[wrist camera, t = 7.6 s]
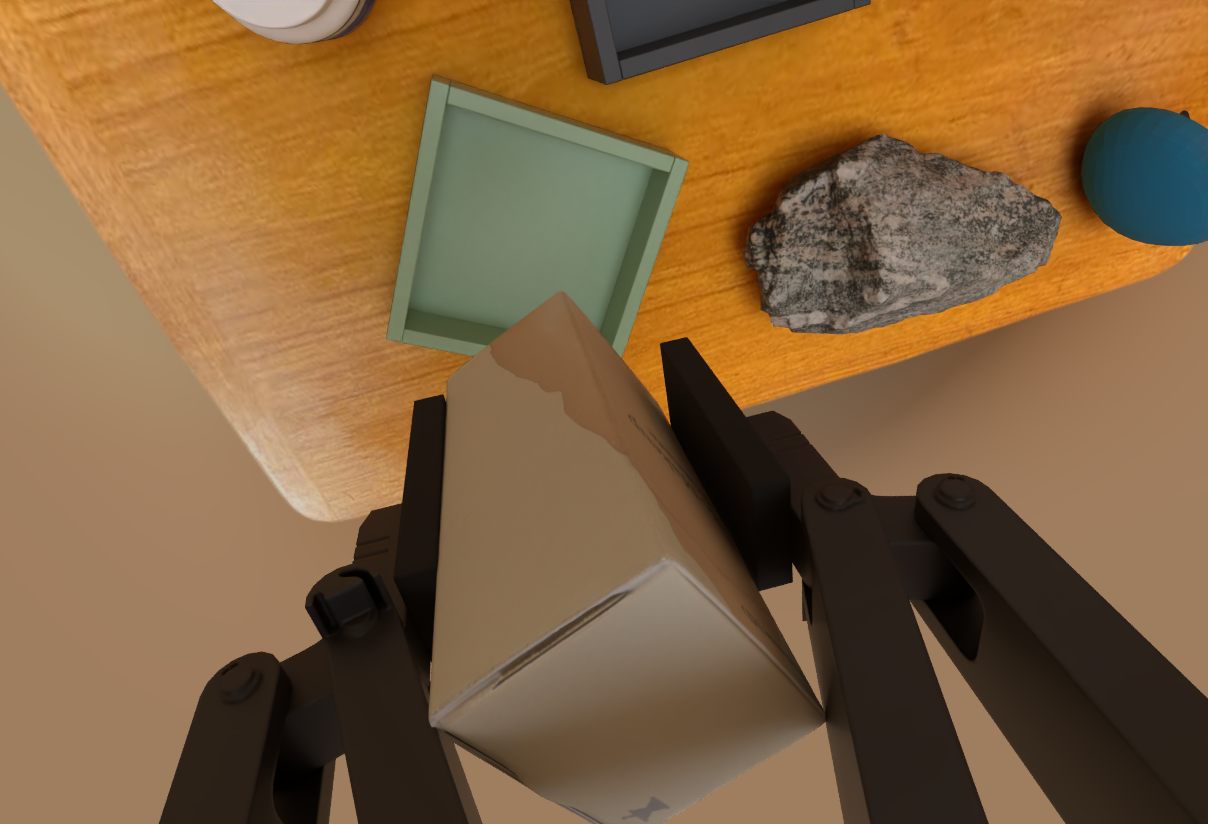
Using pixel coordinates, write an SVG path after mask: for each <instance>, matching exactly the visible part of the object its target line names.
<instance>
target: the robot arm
mask: <svg viewBox="0 0 1208 824" xmlns="http://www.w3.org/2000/svg"><path fill="white" fill-rule="evenodd" d="M660 348H661V356H662V363H663V371H664V378H665V386H666V393H667V401H668V408H669V416H670V423H671V428H672V430H673V432H674V434H675V436H676V437H677V439H678V441H679V443H680V445H681V447H682V449H683V451H684V453H685V455H686V456H687V458H688V460H689V462H690V464H691V466H692V467H693V469H694V471H695V473H696V475H697V477H698V478H699V480H700V482H701V484H702V486H703V488H704V490H705V491H706V493H707V495H708V497H709V499H710V501H711V503H712V504H713V506H714V508H715V510H716V512H717V514H718V516H719V518H720V520H721V522H722V523H723V525H724V527H725V529H726V531H727V533H728V535H729V537H730V538H731V540H732V542H733V544H734V546H735V548H736V550H737V551H738V553H739V555H740V557H741V559H742V561H743V563H744V565H745V566H746V568H747V570H748V572H749V574H750V576H751V578H752V580H753V581H754V583H755V585H756V587H757V589H758V591H762V590H765V589H769V588H773V587H777V586H780V585H784V584H788V583H792V582H793V577H792V575H793V574H792V563H793V564H794V566H795V568H796V569H797V571H798V572H799V574H800V576H801V577H802V614H803V621H807V623H808V629H809V634H810V639H811V645H812V651H813V656H814V662H815V667H816V672H817V678H818V683H819V688H820V694H821V700H822V705H823V710H824V712H825V714H826V721H825V722H826V726H827V732H828V738H829V743H830V748H831V754H832V759H833V765H834V771H835V775H836V781H837V786H838V792H839V798H840V803H841V808H842V814H843V819H844V824H989V823H988V820H987V818H986V815H985V812H984V809H983V806H982V804H981V801H980V798H979V795H978V792H977V789H976V787H975V784H974V781H973V778H972V776H971V773H970V770H969V767H968V764H967V762H966V759H965V756H964V753H963V750H962V747H961V744H960V742H959V739H958V736H957V733H956V730H955V728H954V725H953V722H952V719H951V716H950V714H949V711H948V708H947V705H946V702H945V700H944V697H943V694H942V691H941V688H940V685H939V683H938V680H937V677H936V674H935V671H934V669H933V666H932V663H931V660H930V657H929V655H928V652H927V649H926V646H925V643H924V640H923V638H922V635H921V632H920V629H919V626H918V624H917V621H916V618H915V615H914V612H913V610H912V607H911V604H910V601H911V603H912V604H913V606H914V607H915V608H916V610H917V611H918V613H919V614H920V616H921V617H922V619H923V620H924V621H925V623H926V624H927V626H928V627H929V629H930V630H931V631H932V633H933V634H934V636H935V637H936V638H937V640H938V642H939V643H940V644H941V646H942V647H943V649H944V650H945V652H946V653H947V654H948V656H949V657H950V659H951V660H952V662H953V663H954V664H955V666H956V667H957V669H958V670H959V671H960V673H961V674H962V676H963V677H964V679H965V680H966V682H967V683H968V685H969V686H970V687H971V689H972V690H973V692H974V693H975V695H976V696H977V697H978V699H979V700H980V702H981V703H982V704H983V706H984V707H985V709H986V710H987V712H988V713H989V715H990V716H991V717H992V719H993V720H994V722H995V723H996V725H997V726H998V727H999V729H1000V730H1001V732H1002V733H1003V735H1004V736H1005V737H1006V739H1007V740H1008V742H1009V743H1010V745H1011V746H1012V747H1013V749H1014V750H1015V752H1016V753H1017V754H1018V756H1019V758H1020V759H1021V760H1022V762H1023V763H1024V765H1025V766H1026V767H1027V769H1028V770H1029V772H1030V773H1031V775H1032V776H1033V778H1034V779H1035V780H1036V782H1037V783H1038V785H1039V786H1040V788H1041V789H1042V790H1043V792H1044V793H1045V795H1046V796H1047V798H1048V799H1049V800H1050V802H1051V803H1052V805H1053V806H1054V808H1055V809H1056V810H1057V812H1058V813H1059V815H1060V816H1061V818H1062V819H1063V821H1064V822H1065V823H1066V824H1208V698H1207V697H1206V696H1205V695H1203V693H1201V692H1200V691H1199V690H1198V689H1197V688H1196V687H1195V686H1194V685H1193V684H1192V683H1191V682H1190V681H1189V680H1188V679H1187V678H1186V677H1185V676H1184V675H1183V674H1182V673H1181V672H1180V671H1179V670H1178V669H1176V667H1175V666H1174V665H1172V664H1171V663H1170V662H1169V661H1168V660H1167V659H1166V658H1165V657H1164V656H1163V655H1162V654H1161V653H1160V652H1159V651H1158V650H1157V649H1156V648H1155V647H1154V646H1153V645H1152V644H1151V643H1150V642H1149V641H1148V640H1147V639H1146V638H1144V637H1143V636H1142V635H1141V634H1140V633H1139V632H1138V631H1137V630H1136V629H1135V628H1134V627H1133V626H1132V625H1131V624H1130V623H1129V622H1128V621H1127V620H1126V619H1125V618H1124V617H1123V616H1122V615H1121V614H1120V613H1119V612H1118V611H1116V610H1115V609H1114V608H1113V607H1112V606H1111V605H1110V604H1109V603H1108V602H1107V601H1106V600H1105V599H1104V598H1103V597H1102V596H1101V595H1100V594H1099V593H1098V592H1097V591H1096V590H1095V589H1094V588H1093V587H1092V586H1091V585H1089V584H1088V582H1086V581H1085V580H1084V579H1083V578H1082V577H1081V576H1080V575H1079V574H1078V573H1077V572H1076V571H1075V570H1074V569H1073V568H1072V567H1071V566H1070V565H1069V564H1068V563H1066V561H1065V560H1064V559H1063V558H1062V557H1061V556H1059V555H1058V554H1057V553H1056V552H1055V551H1054V550H1053V549H1052V548H1051V547H1050V546H1049V545H1048V544H1047V543H1046V542H1045V541H1044V540H1043V539H1042V538H1041V537H1040V536H1039V535H1038V534H1037V533H1036V532H1035V531H1034V530H1033V529H1031V527H1029V526H1028V525H1027V524H1026V523H1025V522H1024V521H1023V520H1022V519H1021V518H1020V517H1019V516H1018V515H1017V514H1016V513H1015V512H1014V511H1013V510H1012V509H1011V508H1010V507H1009V506H1008V505H1007V504H1006V503H1005V502H1004V501H1003V500H1001V499H1000V498H999V497H998V496H997V495H996V494H995V493H994V492H993V491H992V490H991V489H990V488H989V487H988V486H986V485H984V484H983V483H982V482H980V481H979V480H976V479H973V478H971V477H968V476H965V475H959V474H951V473H947V474H935V475H933V476H930V477H928V478H925V479H923V480H922V482H920V484H918V486H917V492H916V496H875V495H871V494H870V492H869V491H868V489H867V488H865V487H864V486H862V485H861V484H859V483H858V482H855V481H852V480H849V479H845V478H839V477H838V475H837V474H836V473H835V472H834V471H833V469H832V468H831V467H830V466H829V465H828V463H827V462H826V461H825V460H824V459H823V458H822V457H821V455H820V454H819V453H818V452H817V450H816V449H815V448H814V447H813V446H812V445H810V444H809V441H808V440H807V439H806V437H805V436H804V435H803V434H801V431H800V430H799V429H798V428H797V427H796V426H795V424H794V423H793V422H792V421H791V420H790V419H788V418H786V417H784V416H782V415H781V414H779V413H776V412H775V411H769V412H765V413H761V414H757V415H754V416H749V417H746V416H745V415H744V414H743V412H742V411H741V410H740V408H739V407H738V406H737V404H736V403H735V401H734V400H733V399H732V397H731V396H730V395H729V393H728V392H727V391H726V389H725V388H724V387H723V385H722V384H721V382H720V381H719V380H718V378H717V377H716V376H715V374H714V373H713V372H712V370H711V369H710V367H709V366H708V365H707V363H706V362H705V361H704V359H703V358H702V357H701V355H700V354H699V353H698V351H697V350H696V348H695V347H694V346H693V344H692V343H691V342H690V340H689V339H688V338H687V337H685V338H681V339H676V340H672V341H668V342H664V343H660ZM445 419H446V401H445V398H444V395H443V394H442V395H438V396H434V397H429V398H425V399H421V400H416V401H414V408H413V417H412V425H411V433H410V442H409V450H408V459H407V467H406V475H405V484H404V492H403V500H402V503H401V504H397V505H393V506H389V507H385V508H381V509H377V510H373V511H371V512H370V514H369V515H368V517H367V518H366V519H365V521H364V522H363V524H362V525H361V526H360V528H359V533H358V538H357V543H356V545H357V547H356V548H355V553H354V561H353V563H352V564H350V565H347V566H344V567H341V568H338V569H336V570H334V571H333V572H331V573H329V574H327V575H325V576H324V577H323V578H322V579H321V580H320V581H318V582H317V583H316V584H315V585H314V586H313V588H312V589H311V591H310V592H309V594H308V596H307V597H306V604H305V608H306V610H307V612H308V614H309V615H310V617H311V619H312V620H313V622H314V624H315V626H316V627H317V629H318V631H319V633H320V635H321V636H322V639H321V640H320V641H319V642H317V643H316V644H314V645H312V646H311V647H309V648H307V649H306V650H304V651H302V652H300V653H298V654H296V655H294V656H292V657H290V658H288V659H286V660H284V661H282V662H279V661H278V660H277V659H276V658H275V656H274V655H273V654H270V653H265V652H257V653H250V654H247V655H244V656H242V657H240V658H237V659H235V660H233V661H231V662H230V663H229V664H227V665H226V666H225V667H223V668H222V669H220V670H219V671H218V672H217V673H216V674H215V675H214V677H212V678H211V680H210V681H209V682H208V683H207V685H206V686H205V688H204V690H203V692H202V694H201V696H200V699H199V702H198V705H197V708H196V711H195V714H194V717H193V720H192V724H191V726H190V730H189V733H188V736H187V739H186V742H185V745H184V748H183V751H182V754H181V757H180V760H179V763H178V767H177V769H176V773H175V776H174V779H173V782H172V785H171V788H170V791H169V794H168V797H167V801H166V803H165V806H164V809H163V813H162V816H161V819H160V822H159V824H329V816H330V807H331V798H332V789H333V780H334V771H335V761H336V758H338V757H339V756H341V755H343V754H345V756H346V762H347V767H348V772H349V777H350V783H351V788H352V793H353V798H354V803H355V808H356V814H357V819H358V824H482V821H481V818H480V815H479V813H478V810H477V807H476V804H475V802H474V799H473V796H472V793H471V790H470V787H469V785H468V782H467V779H466V776H465V773H464V771H463V768H462V765H461V762H460V759H459V757H458V754H457V751H456V749H455V745H454V743H453V742H452V741H450V740H448V739H446V738H444V737H443V736H441V735H439V733H438V731H437V728H436V727H431V725H430V722H429V700H430V685H431V682H430V662H432V653H433V635H434V617H435V601H436V582H437V567H438V549H439V531H440V513H441V493H442V478H443V458H444V440H445ZM909 600H910V601H909Z"/></svg>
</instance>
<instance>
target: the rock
mask: <svg viewBox="0 0 1208 824" xmlns="http://www.w3.org/2000/svg"><path fill="white" fill-rule="evenodd" d="M1061 218H1062V217H1061V215H1060V213H1059V212H1058V211H1057V210H1056V209H1055V208H1053V207H1052V205H1051V203H1050V202H1049V201H1048V200H1046V199H1043V198H1040V197H1038V196H1035V195H1033V193H1031V192H1030V191H1029V190H1028V189H1026V188H1025V187H1024V186H1023V185H1019V184H1014V183H1013V182H1012V181H1011V179H1010V177H1009V176H1008V175H1007V174H1005V173H1002V172H995V171H994V172H987V171H981V170H979V169H976V168H973V167H968V166H966V165H964V164H962V163H960V162H958V161H955V160H951V159H949V158H947V157H945V156H944V155H941V154H938V153H930V154H921V153H919V152H917V151H916V150H915V149H914V147H913V146H911V145H910V144H908V143H907V142H905V141H901V140H898V139H895V138H891V137H888V136H887V135H886V134H883V135H876V136H874V137H872V138H870V139H868V140H866V141H864V142H862V143H860V144H858V145H857V146H856V147H854V148H851V149H849V150H846V151H845V152H843V153H840V154H837V155H835V156H833V157H831V158H829V159H827V160H825V161H823V162H821V163H820V164H819V165H817V166H815V167H812V168H810V169H807V170H805V171H803V172H801V173H799V174H797V175H795V176H794V177H793V178H792V179H791V180H790V181H789V182H788V183H787V184H786V185H785V186H784V187H783V188H782V190H781V191H780V194H779V196H778V198H777V201H776V203H775V205H774V207H773V208H772V210H771V212H770V213H769V214H767V215H766V216H764V217H763V218H762V219H761V220H760V221H759V222H757V223H756V224H754V225H752V226H750V227H749V230H748V233H747V242H746V248H745V251H744V257H745V262H746V265H747V267H748V268H751V269H754V270H756V271H757V272H758V284H759V288H760V292H761V310H763V311H765V312H767V313H768V314H769V316H770V317H771V323H773V327H785V328H789V329H790V330H791V332H798V333H801V332H803V333H821V334H822V333H829V334H846V333H858V332H862V331H866V330H869V329H871V328H876V327H884V326H887V325H890V324H894V323H897V322H899V321H902V320H904V319H907V318H909V317H914V316H918V315H927V314H935V313H939V312H943V311H945V310H946V309H949V308H951V307H955V306H958V305H962V304H967V303H971V302H974V301H977V300H980V299H982V298H984V297H986V296H989V295H992V294H994V293H995V292H996V291H997V290H998V289H999V288H1000V287H1002V286H1004V285H1006V284H1008V283H1011V282H1013V281H1016V280H1018V279H1020V278H1022V277H1024V276H1026V275H1028V274H1031V273H1035V271H1036V270H1037V267H1039V266H1044V265H1046V264H1047V262H1048V260H1049V258H1050V254H1051V251H1052V248H1053V242H1054V240H1055V238H1056V236H1057V234H1058V229H1059V225H1060V220H1061Z"/></svg>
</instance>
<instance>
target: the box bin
mask: <svg viewBox="0 0 1208 824" xmlns="http://www.w3.org/2000/svg"><path fill="white" fill-rule="evenodd" d="M870 3H871V0H570V4H571V8H572V13H573V17H574V21H575V25H576V29H577V33H578V38H579V42H580V46H581V50H582V54H583V59H584V63H585V67H586V71H587V75H588V78H589V79H592V80H595V81H597V82H600V83H603V84H605V85H608V84H611V83H615V82H618V81H621V80H622V79H628V78H631V77H634V76H638V75H641V74H644V73H647V72H651V71H654V70H657V69H660V68H664V67H667V66H670V65H673V64H677V63H680V62H683V61H686V60H690V59H693V58H696V57H700V56H703V55H706V54H709V53H713V52H716V51H719V50H722V49H726V48H729V47H732V46H735V45H739V44H742V43H745V42H749V41H752V40H755V39H758V38H762V37H765V36H768V35H771V34H775V33H778V32H781V31H784V30H788V29H791V28H794V27H798V26H801V25H804V24H807V23H811V22H814V21H817V20H820V19H824V18H827V17H830V16H833V15H837V14H840V13H843V12H846V11H850V10H853V9H856V8H860V7H863V6H866V5H869V4H870Z"/></svg>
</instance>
